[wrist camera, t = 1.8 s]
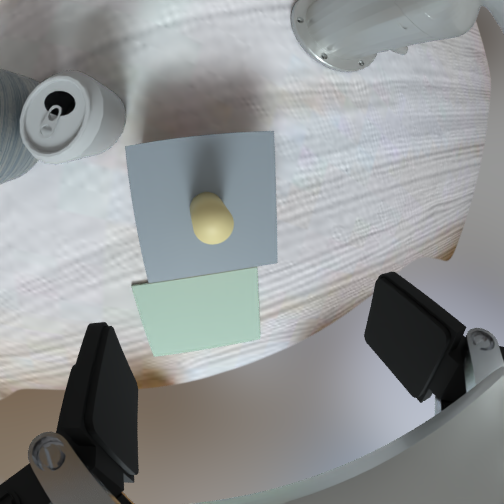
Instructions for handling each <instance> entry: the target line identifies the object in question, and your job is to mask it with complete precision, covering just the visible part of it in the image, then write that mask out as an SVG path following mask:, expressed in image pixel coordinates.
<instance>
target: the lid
mask: <svg viewBox="0 0 504 504" xmlns="http://www.w3.org/2000/svg"><path fill="white" fill-rule="evenodd" d="M125 150H126V160H127V168H128V176H129V183H130V190H131V197H132V203H133V209H134V215H135V221H136V226H137V232H138V237H139V242H140V247H141V252H142V256H143V261H144V265H145V270H146V274H147V278H148V282H149V283H153V282H160V281H167V280H173V279H180V278H187V277H193V276H200V275H206V274H213V273H219V272H225V271H232V270H238V269H244V268H250V267H256V266H262V265H269V264H275V263H277V212H276V175H275V147H274V131H259V132H239V133H224V134H212V135H201V136H192V137H183V138H175V139H168V140H161V141H154V142H148V143H142V144H136V145H130V146H125Z"/></svg>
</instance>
